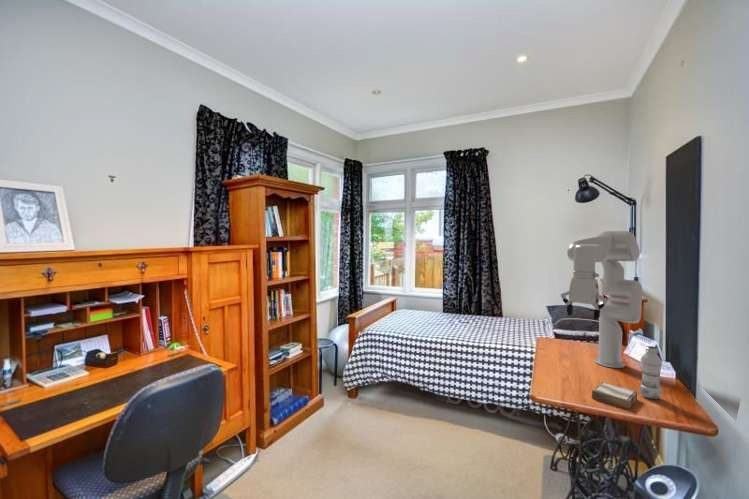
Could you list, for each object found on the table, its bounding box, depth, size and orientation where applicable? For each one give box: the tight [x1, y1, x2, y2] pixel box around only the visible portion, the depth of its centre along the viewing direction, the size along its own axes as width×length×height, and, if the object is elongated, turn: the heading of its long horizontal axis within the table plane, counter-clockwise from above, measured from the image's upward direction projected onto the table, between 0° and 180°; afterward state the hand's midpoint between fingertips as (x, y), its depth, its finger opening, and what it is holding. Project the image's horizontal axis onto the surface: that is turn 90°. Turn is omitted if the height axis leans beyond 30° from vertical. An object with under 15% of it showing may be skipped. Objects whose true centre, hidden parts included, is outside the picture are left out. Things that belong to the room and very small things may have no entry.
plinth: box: [591, 381, 638, 410], centre depth 138 cm, size 12×12×3 cm
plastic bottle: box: [639, 345, 663, 400], centre depth 139 cm, size 6×7×20 cm
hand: (582, 317), depth 144 cm, fingers open, 9 cm apart
